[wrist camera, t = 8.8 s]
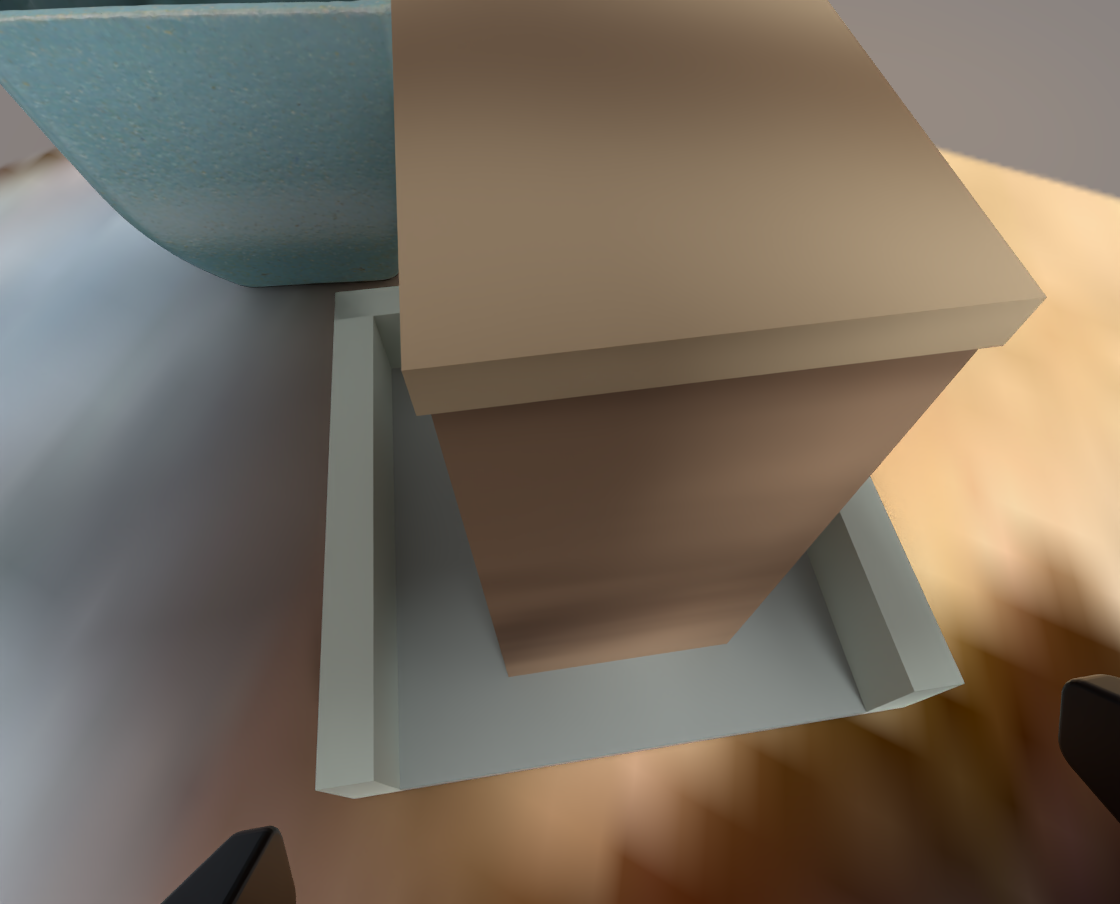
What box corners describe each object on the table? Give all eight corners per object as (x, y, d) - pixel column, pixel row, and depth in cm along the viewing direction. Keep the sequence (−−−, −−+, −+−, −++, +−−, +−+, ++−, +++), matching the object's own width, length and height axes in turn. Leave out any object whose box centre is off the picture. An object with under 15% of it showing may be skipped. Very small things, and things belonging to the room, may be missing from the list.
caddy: (732, 647, 15) (1045, 297, 5) (504, 682, 14) (401, 370, 5) (660, 393, 18) (768, -80, 9) (477, 415, 18) (389, -56, 9)
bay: (903, 707, 14) (964, 683, 12) (354, 798, 13) (314, 790, 11) (743, 309, 20) (765, 247, 18) (359, 352, 19) (335, 292, 17)
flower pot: (458, 149, 25) (412, -163, 17) (461, 321, 20) (403, 1, 12) (223, 163, 24) (68, -152, 17) (173, 341, 20) (-72, 21, 12)
